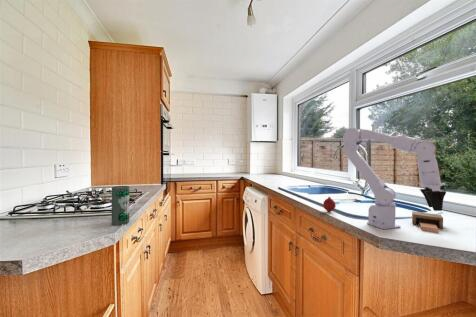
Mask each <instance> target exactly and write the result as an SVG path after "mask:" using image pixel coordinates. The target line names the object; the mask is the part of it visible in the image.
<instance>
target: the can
mask: <svg viewBox="0 0 476 317" xmlns="http://www.w3.org/2000/svg"><path fill="white" fill-rule="evenodd" d="M129 223H130V186H128V185H115V186H112V187H111V225H112V226H123V225H127V224H129ZM122 224H123V225H122Z"/></svg>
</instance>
